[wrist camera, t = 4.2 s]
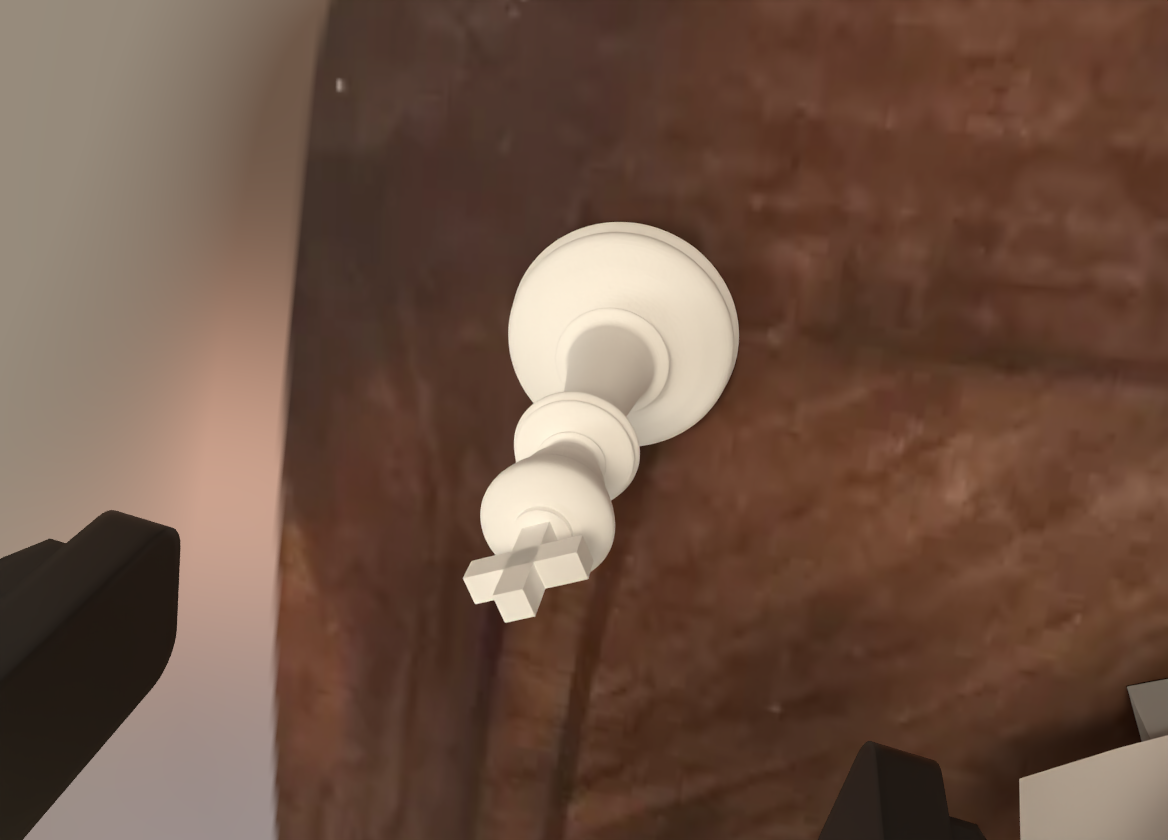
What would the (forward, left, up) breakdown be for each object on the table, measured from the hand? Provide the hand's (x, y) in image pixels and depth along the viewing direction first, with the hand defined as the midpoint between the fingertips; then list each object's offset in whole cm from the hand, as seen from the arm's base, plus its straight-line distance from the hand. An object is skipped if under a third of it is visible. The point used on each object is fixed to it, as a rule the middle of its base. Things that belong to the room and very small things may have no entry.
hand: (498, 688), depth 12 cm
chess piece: (0, 0, -12) cm, 12 cm away
